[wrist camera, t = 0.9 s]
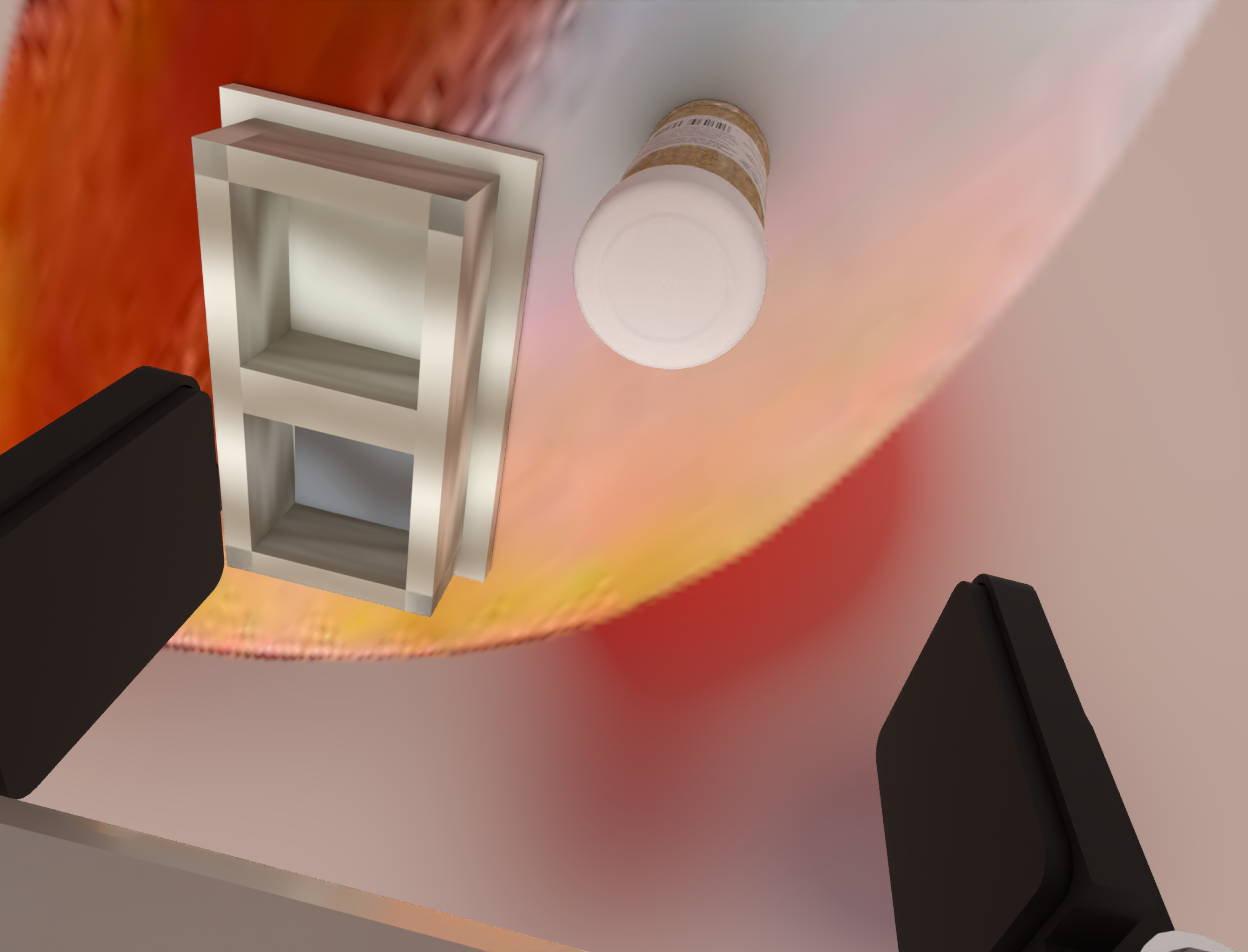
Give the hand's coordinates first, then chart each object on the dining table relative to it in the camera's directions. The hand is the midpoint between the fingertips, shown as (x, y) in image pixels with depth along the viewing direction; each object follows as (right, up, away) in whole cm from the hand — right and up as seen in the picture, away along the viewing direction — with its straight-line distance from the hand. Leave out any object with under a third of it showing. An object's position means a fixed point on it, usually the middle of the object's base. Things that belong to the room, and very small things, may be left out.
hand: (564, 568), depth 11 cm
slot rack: (-10, +6, +27) cm, 29 cm away
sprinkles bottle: (+4, +13, +20) cm, 24 cm away
